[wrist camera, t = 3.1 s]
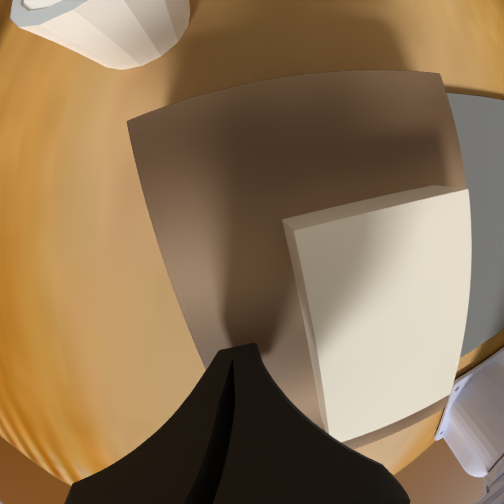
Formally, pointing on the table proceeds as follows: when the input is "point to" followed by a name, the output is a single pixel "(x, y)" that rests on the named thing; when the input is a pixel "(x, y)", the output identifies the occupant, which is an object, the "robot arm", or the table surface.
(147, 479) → the robot arm
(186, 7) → the white cup
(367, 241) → the tile
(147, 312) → the table surface
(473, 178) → the mat
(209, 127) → the platform
